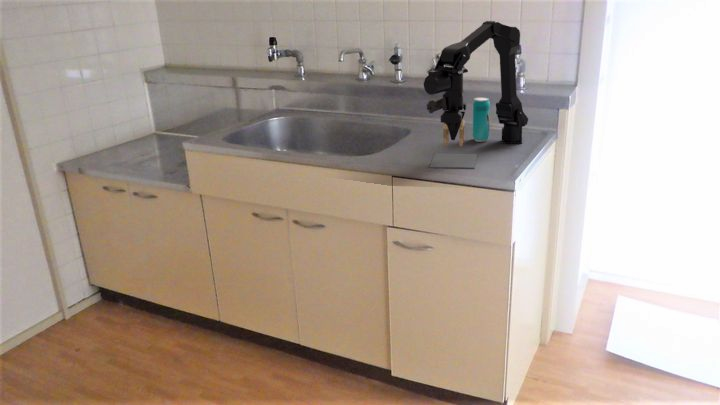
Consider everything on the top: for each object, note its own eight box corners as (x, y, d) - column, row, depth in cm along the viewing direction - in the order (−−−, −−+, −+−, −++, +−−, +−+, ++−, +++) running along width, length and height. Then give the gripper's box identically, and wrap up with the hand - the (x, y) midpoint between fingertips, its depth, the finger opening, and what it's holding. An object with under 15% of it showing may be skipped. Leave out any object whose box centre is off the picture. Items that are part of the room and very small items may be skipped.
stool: (445, 140, 196) (445, 119, 193) (464, 141, 194) (464, 119, 192) (443, 146, 190) (443, 124, 188) (462, 146, 189) (462, 124, 186)
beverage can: (489, 142, 212) (489, 100, 206) (472, 142, 213) (472, 100, 208) (489, 138, 217) (489, 96, 212) (473, 138, 218) (473, 97, 213)
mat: (477, 155, 199) (477, 154, 199) (474, 168, 186) (474, 167, 186) (435, 154, 203) (435, 153, 202) (429, 167, 190) (429, 166, 190)
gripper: (432, 83, 196) (432, 129, 202) (423, 95, 180) (424, 145, 185) (466, 82, 193) (466, 129, 199) (460, 95, 177) (460, 146, 183)
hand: (454, 137), depth 192 cm, fingers closed on stool, 5 cm apart
